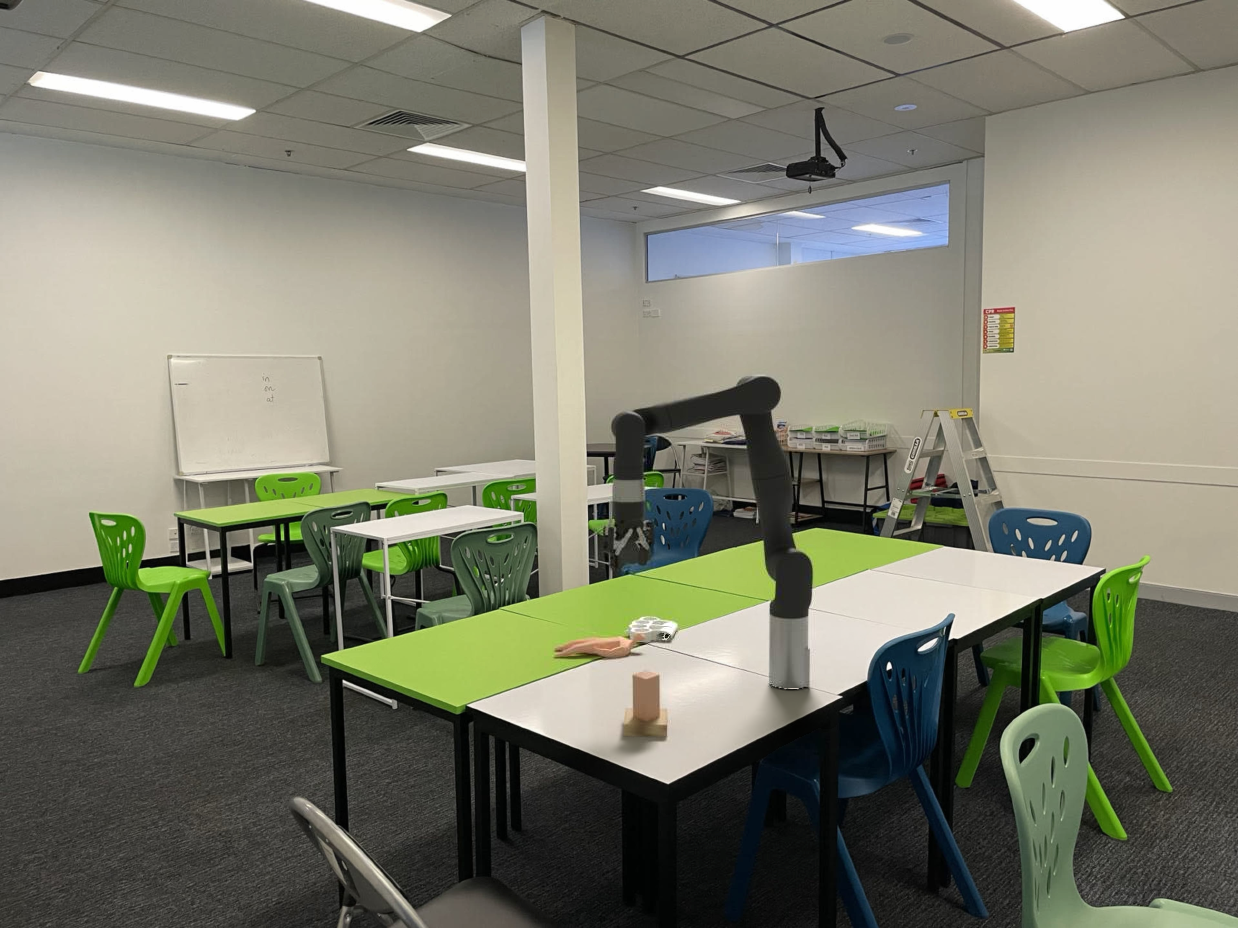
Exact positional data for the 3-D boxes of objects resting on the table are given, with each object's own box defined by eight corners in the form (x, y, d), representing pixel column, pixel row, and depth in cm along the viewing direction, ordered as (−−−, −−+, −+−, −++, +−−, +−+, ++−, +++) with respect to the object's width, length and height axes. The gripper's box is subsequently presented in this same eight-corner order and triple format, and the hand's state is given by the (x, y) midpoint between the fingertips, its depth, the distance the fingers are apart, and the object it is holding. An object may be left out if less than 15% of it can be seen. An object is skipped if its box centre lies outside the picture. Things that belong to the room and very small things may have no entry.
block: (646, 711, 186) (645, 670, 185) (659, 716, 183) (659, 674, 182) (633, 716, 183) (632, 674, 182) (646, 721, 180) (646, 679, 179)
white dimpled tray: (669, 646, 243) (618, 643, 246) (679, 628, 260) (632, 626, 264) (669, 634, 242) (618, 631, 246) (679, 617, 260) (632, 615, 263)
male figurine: (553, 637, 240) (643, 627, 242) (555, 654, 241) (644, 644, 242) (553, 648, 230) (647, 638, 231) (555, 667, 230) (648, 656, 232)
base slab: (667, 722, 187) (667, 708, 187) (667, 739, 178) (667, 724, 178) (625, 721, 188) (625, 708, 188) (623, 738, 179) (623, 724, 179)
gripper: (616, 502, 192) (617, 575, 193) (662, 497, 201) (662, 566, 203) (594, 499, 197) (595, 570, 199) (639, 494, 207) (640, 561, 208)
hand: (629, 567), depth 201 cm, fingers open, 8 cm apart
